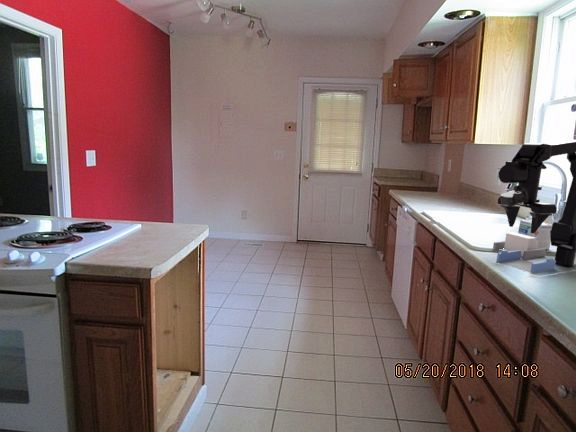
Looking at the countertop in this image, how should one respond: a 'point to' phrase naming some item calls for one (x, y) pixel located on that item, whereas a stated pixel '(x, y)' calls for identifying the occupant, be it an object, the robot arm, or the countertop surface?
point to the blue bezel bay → (524, 262)
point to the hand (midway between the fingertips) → (521, 229)
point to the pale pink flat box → (519, 242)
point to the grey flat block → (527, 254)
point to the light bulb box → (537, 233)
